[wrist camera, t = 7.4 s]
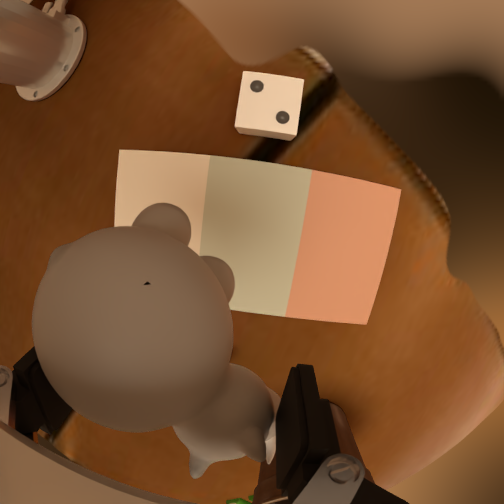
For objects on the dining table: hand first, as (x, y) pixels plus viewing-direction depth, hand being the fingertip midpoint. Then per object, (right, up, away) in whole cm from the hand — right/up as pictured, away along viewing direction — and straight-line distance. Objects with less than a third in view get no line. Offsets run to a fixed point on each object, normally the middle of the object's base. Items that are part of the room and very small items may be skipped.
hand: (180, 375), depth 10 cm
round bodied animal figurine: (0, +1, +5) cm, 5 cm away
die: (+4, +18, +16) cm, 24 cm away
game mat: (+3, +6, +19) cm, 20 cm away
